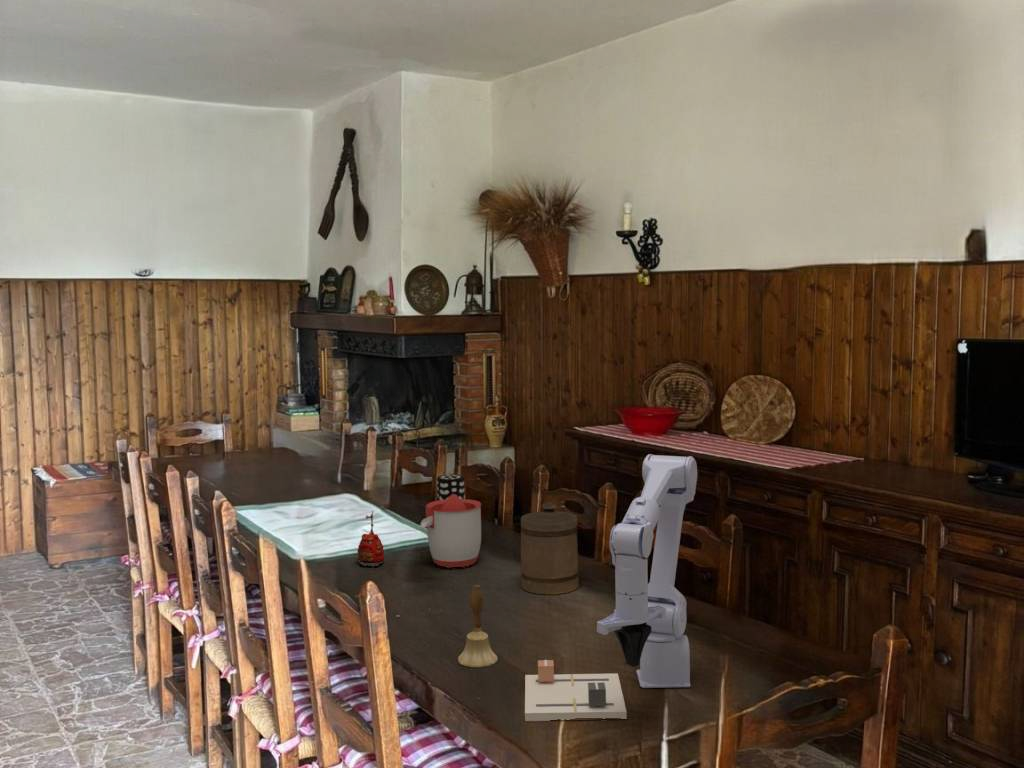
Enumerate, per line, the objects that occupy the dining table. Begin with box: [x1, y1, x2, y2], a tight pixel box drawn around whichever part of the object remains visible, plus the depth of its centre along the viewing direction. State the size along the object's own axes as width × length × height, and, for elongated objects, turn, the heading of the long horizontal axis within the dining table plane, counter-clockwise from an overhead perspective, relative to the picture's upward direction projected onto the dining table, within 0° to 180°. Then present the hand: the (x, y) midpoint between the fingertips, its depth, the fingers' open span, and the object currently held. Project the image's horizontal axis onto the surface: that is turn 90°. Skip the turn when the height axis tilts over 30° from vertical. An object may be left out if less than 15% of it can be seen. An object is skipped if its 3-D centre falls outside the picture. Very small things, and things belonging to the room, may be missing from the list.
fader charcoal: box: [588, 682, 606, 706], centre depth 173 cm, size 3×3×3 cm
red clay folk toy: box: [357, 510, 385, 563], centre depth 271 cm, size 8×7×15 cm
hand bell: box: [457, 584, 499, 668], centre depth 199 cm, size 8×8×16 cm
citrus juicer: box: [420, 494, 482, 568], centre depth 270 cm, size 16×17×20 cm
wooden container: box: [520, 501, 580, 596], centre depth 247 cm, size 15×15×22 cm
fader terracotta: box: [537, 659, 555, 682], centre depth 184 cm, size 3×3×3 cm
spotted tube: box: [436, 474, 466, 501], centre depth 294 cm, size 8×8×20 cm
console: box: [524, 672, 628, 722], centre depth 179 cm, size 18×17×2 cm
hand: (632, 664), depth 172 cm, fingers closed
